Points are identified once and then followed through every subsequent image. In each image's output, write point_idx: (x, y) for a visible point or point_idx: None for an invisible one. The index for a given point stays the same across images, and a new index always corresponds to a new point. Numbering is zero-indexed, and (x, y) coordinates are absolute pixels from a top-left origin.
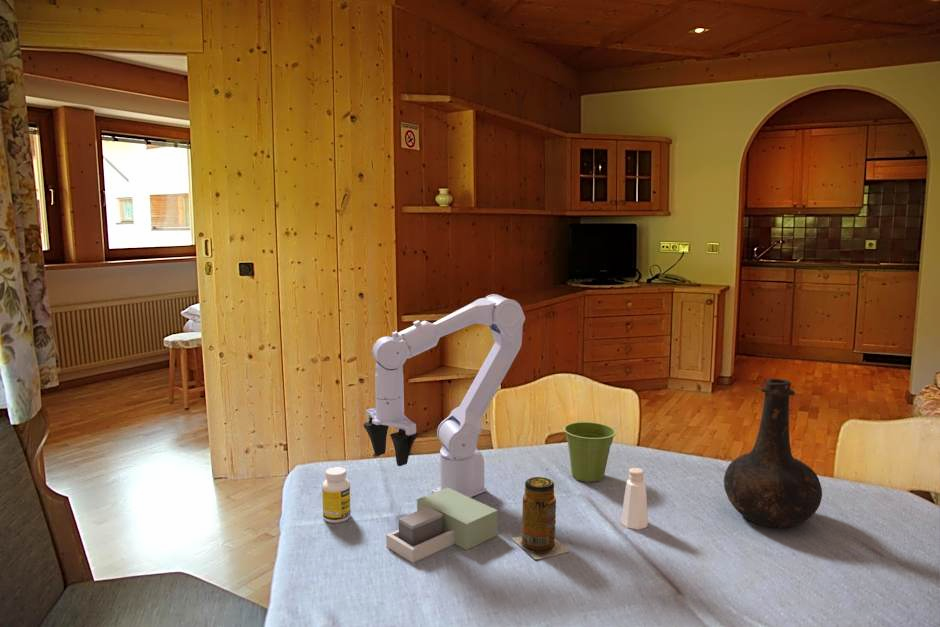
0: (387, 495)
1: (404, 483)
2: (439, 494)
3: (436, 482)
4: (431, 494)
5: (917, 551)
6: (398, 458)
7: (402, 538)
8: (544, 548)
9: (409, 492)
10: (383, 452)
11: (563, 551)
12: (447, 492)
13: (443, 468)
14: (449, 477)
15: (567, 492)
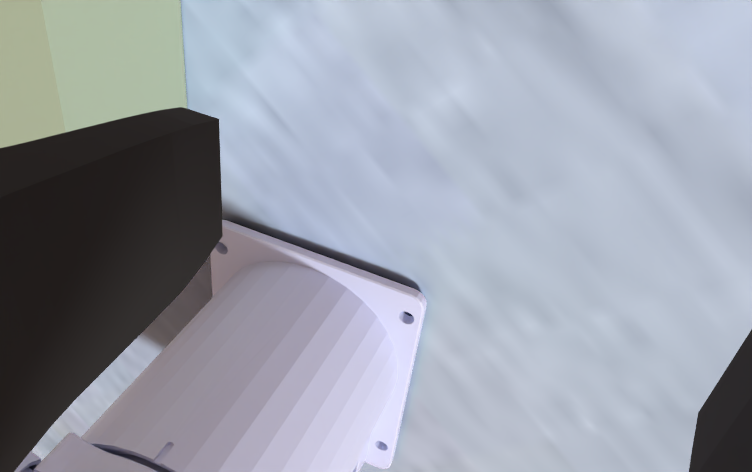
0: (698, 127)
1: (695, 353)
2: (14, 76)
3: (500, 414)
4: (40, 42)
5: None
6: (59, 134)
7: None
8: None
9: (561, 244)
10: (709, 418)
11: None
12: (16, 134)
13: (218, 398)
14: (202, 344)
15: (51, 444)
